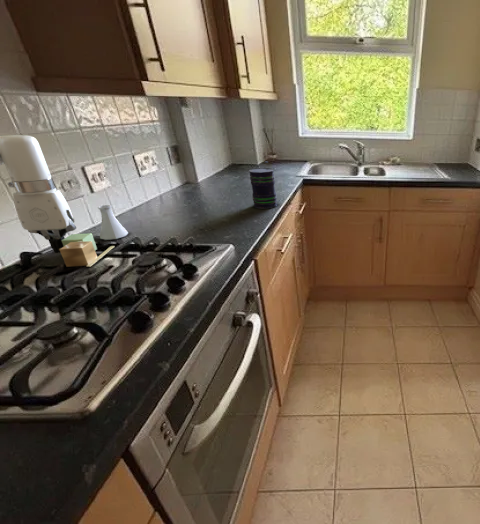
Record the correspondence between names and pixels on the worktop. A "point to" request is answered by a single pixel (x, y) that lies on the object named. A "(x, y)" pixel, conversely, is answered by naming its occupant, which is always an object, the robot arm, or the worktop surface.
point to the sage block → (79, 239)
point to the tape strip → (100, 256)
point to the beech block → (78, 253)
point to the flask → (110, 224)
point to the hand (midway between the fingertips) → (61, 250)
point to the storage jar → (263, 187)
